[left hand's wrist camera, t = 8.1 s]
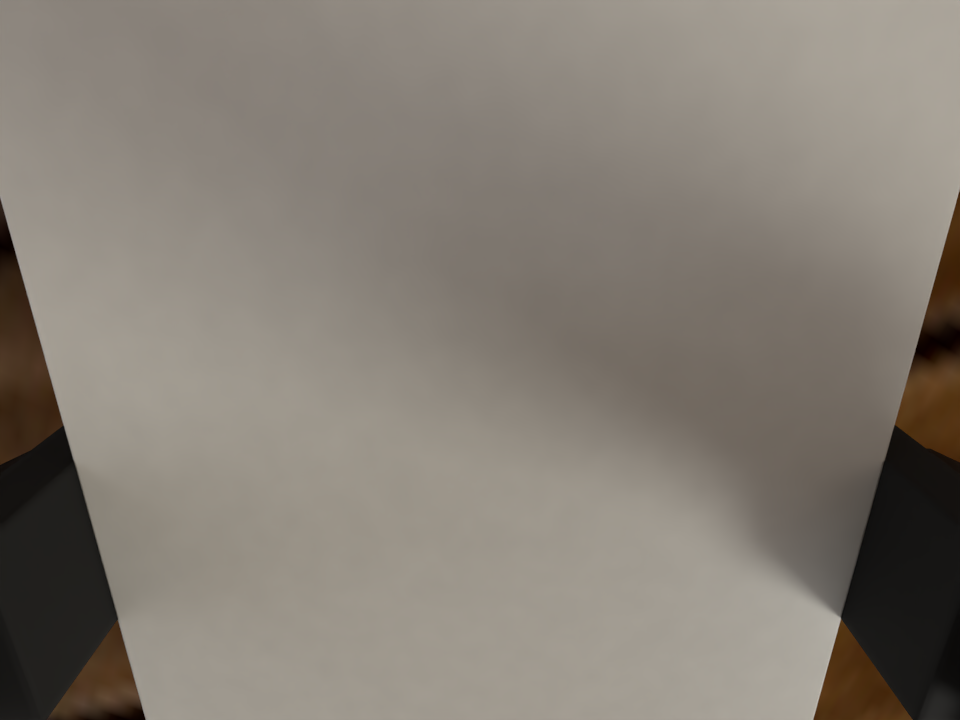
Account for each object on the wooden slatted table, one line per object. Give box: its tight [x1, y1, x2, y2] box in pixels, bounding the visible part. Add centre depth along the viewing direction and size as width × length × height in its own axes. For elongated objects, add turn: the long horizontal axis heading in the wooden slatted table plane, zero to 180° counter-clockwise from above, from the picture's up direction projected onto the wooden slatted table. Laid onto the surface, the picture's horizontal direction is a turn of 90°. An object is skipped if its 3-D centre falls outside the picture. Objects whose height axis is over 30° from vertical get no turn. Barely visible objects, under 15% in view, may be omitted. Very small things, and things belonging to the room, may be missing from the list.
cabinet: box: [0, 0, 960, 720], centre depth 11 cm, size 20×11×9 cm, turn 0°
